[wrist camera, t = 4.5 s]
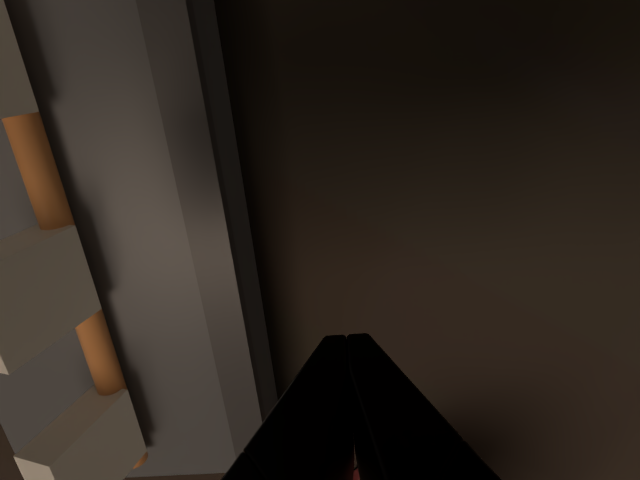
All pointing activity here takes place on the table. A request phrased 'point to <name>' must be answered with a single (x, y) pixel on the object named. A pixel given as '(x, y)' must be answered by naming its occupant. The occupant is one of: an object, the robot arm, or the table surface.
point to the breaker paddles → (57, 304)
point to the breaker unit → (145, 226)
